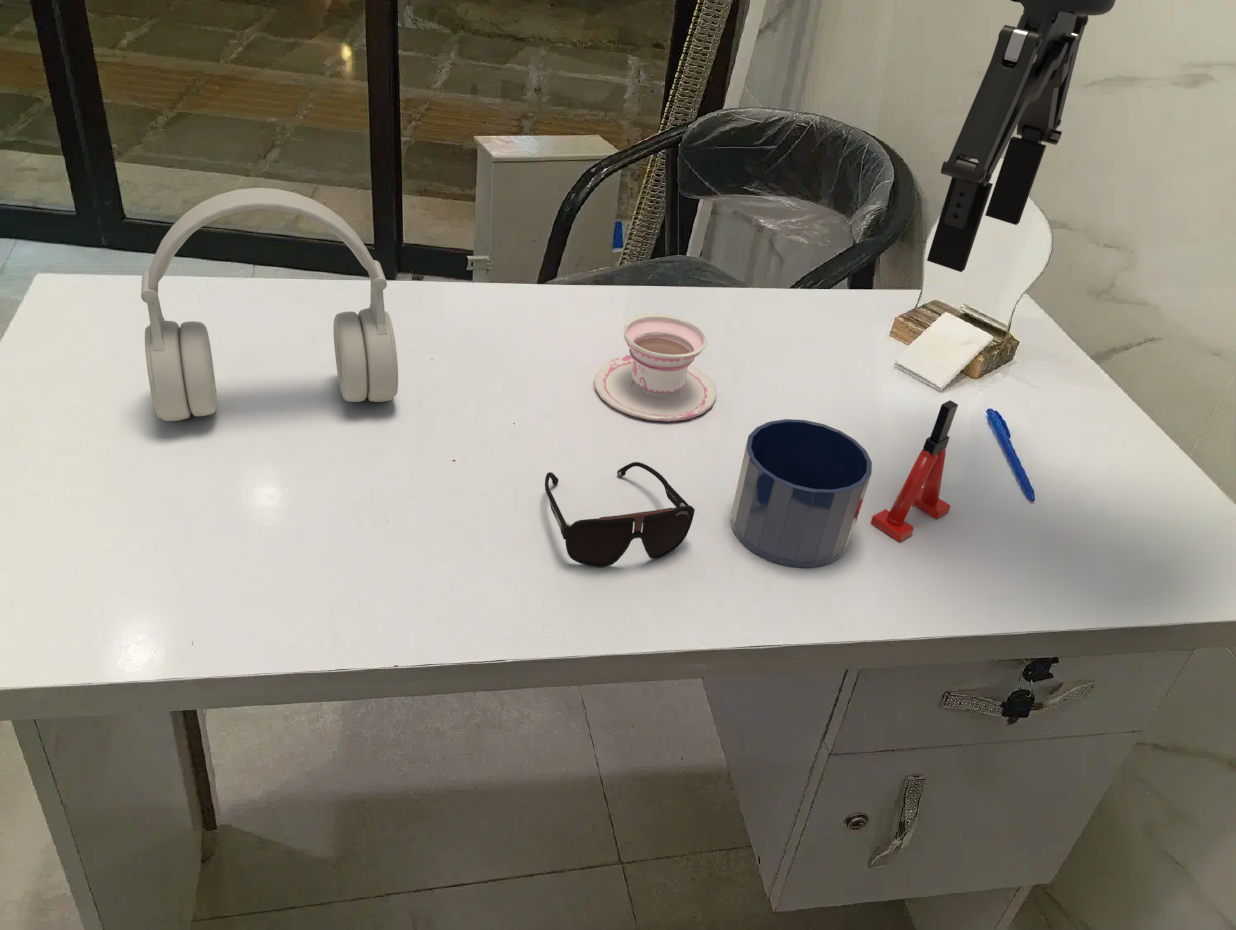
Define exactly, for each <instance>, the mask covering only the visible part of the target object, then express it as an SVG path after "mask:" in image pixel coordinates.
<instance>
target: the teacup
mask: <svg viewBox="0 0 1236 930" xmlns="http://www.w3.org/2000/svg"><path fill="white" fill-rule="evenodd" d="M623 337H624V341H625V343H626V344H627V347H629V350H628V351H629V354H628V355H623V356H620V357H616V358H613V359H611V360H609V361H608V362H606V363H604V364H603V365H601V366H600V367H599V369H598V370H597V372H596V373H595V375H594V389H595V390H596V392H597V394H598V396H599V397H600V398H601V399H602V400H603V401H604V402H606V404H608V405H609V406H611V407H612V409H615V410H618V411H620V412H622V413H624V414H626V415H629V416H632V417H635V418H639V419H644V420H648V421H659V422H675V421H687V420H690V419H693V418H696V417H698V416H702V415H703V414H704V413H706V412H707V411H708V410H709V409H711V408H712V407H713V405H714V403H715V401H716V398H717V391H716V385H715V384H714V382H713V380H711V379H710V377H709V375H707V373H705V372H704V371H702V370H701V369H700V368H698V367H696V366H694V365H692V363H693V362H694V361H695V359H696V357H698V356H699V355H700V354H701V353H702V352H703V351H704V350H705V348H706V347H707V343H708V342H707V337H706V336H705V334H704V333H703V331H702V330H701V329H700V328H699V327H697V326H696V325H695V324H693V323H691V322H690V321H688V320H685V319H683V318H680V317H677V316H674V315H670V314H664V313H652V312H651V313H642V314H638V315H635V316H632V317H631V318H629V319H628V320H627V321H626V322H625V324H624V326H623Z"/></svg>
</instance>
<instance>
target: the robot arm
mask: <svg viewBox="0 0 1236 930" xmlns="http://www.w3.org/2000/svg"><path fill="white" fill-rule="evenodd" d="M1010 2H1013V3H1020V4H1021V5H1022V7H1023V11H1022V12H1023V13H1022V14H1021V16H1020V18H1019V20H1018V23H1017V25H1016V26H1012V25H1007V24H1004V25H1003V26H1002V27H1001V30H1000V31H999V33H998V37H997V38H998V39H997V41H996V44H995V47H994V50H993V53H992V56H991V59H990V62H989V64H988V67H987V69H986V71H985V74H984V76H983V78H982V80H981V83H980V85H979V88H978V90H977V92H976V95H975V97H974V99H973V102H972V103H971V106H970V108H969V111H968V114H967V115H966V118H965V120H964V122H963V125H962V127H961V129H960V132H959V134H958V136H957V139H956V141H955V144H954V146H953V148H952V150H951V153H950V156H949V158H948V159H947V161H945V160H944V161H943V163H942V165H941V167H940V174H941V175H945V176H947V177H951V179H950V183H949V185H948V189H947V192H946V196H945V199H944V203H943V205H942V209H941V213H940V216H939V218H938V222H937V225H936V228H935V232H934V236H933V239H932V242H931V245H930V249H929V252H928V256H927V258H926V261H927V262H930V263H933V264H936V265H938V266H941V267H945V268H946V269H951V270H953V271H957V272H959V273H963V271H965V270H966V267H967V264H968V261H969V259H970V258H969V257H970V256H971V252H972V249H973V246H974V243H975V240H976V237H977V235H978V234H977V233H978V231H979V228H980V225H981V222H982V218H983V215H984V216H985V217H989V218H992V219H995V220H999V221H1002V222H1004V223H1008V224H1011V225H1015V226H1018V224H1020V222H1021V219H1022V216H1023V214H1024V210H1025V207H1026V205H1027V202H1028V199H1029V196H1030V193H1031V191H1032V188H1033V185H1034V182H1035V179H1036V176H1037V173H1038V171H1039V169H1040V165H1041V162H1042V159H1043V157H1044V154H1045V151H1046V148H1047V145H1046V144H1043V143H1047V144H1051V145H1054V146H1058V143H1059V141H1060V139H1061V137H1062V133H1063V130H1057V129H1058V128H1059V127H1060V126H1061V124H1062V117H1063V114H1064V113H1063V112H1064V108H1065V105H1066V104H1065V103H1066V100H1067V97H1068V92H1069V88H1070V83H1071V80H1072V76H1073V72H1074V68H1075V65H1076V60H1077V55H1078V53H1079V48H1080V43H1081V41H1082V37H1083V34H1084V32H1085V28H1086V26H1087V25H1088V23H1089V16H1101V15H1105V14H1108V13H1109V12H1110V11H1111V10H1112V9H1113V7H1114V5H1115V3H1116V0H1010ZM1015 130H1016V135H1017V136H1021V137H1017V136H1013V134H1014V132H1015ZM1042 142H1043V143H1042ZM1005 150H1006V151H1005ZM1004 152H1005V153H1004ZM1003 154H1004V157H1003V159H1002V156H1003ZM1001 159H1002V164H1001V166H1000V168H999V172H998V174H997V177H996V180H995V184H994V183H991V181H992V177H993V174H994V172H995V170H996V168H997V166H998V163H999V162H1000V160H1001ZM973 160H977V162H976V161H973ZM993 185H994V187H993ZM992 188H993V190H992ZM991 191H992V192H991ZM990 195H991V196H990ZM989 197H990V199H989ZM988 200H989V201H988ZM987 203H988V204H987ZM986 206H987V208H986ZM985 209H986V211H985ZM984 212H985V214H984Z"/></svg>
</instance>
